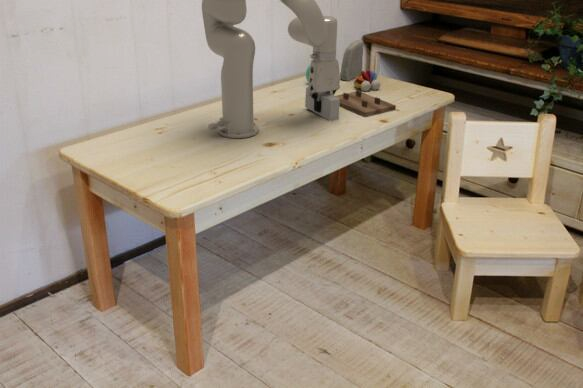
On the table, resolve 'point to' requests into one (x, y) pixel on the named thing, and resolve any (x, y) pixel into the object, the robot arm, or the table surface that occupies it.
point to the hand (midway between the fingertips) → (322, 109)
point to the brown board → (364, 104)
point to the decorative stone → (352, 61)
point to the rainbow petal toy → (367, 81)
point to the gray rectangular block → (325, 105)
